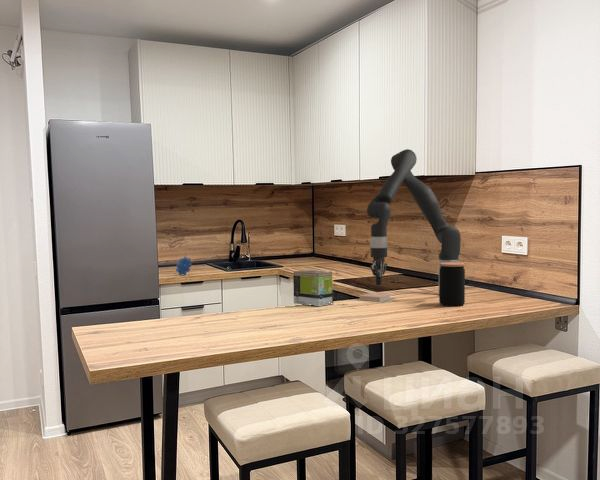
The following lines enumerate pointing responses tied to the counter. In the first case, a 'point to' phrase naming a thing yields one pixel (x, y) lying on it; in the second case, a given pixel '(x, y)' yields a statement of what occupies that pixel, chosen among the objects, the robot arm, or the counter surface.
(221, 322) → the counter surface
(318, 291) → the tea box
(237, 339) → the counter surface
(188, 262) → the grapes
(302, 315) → the counter surface
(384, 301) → the slate board
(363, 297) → the tile
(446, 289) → the coffee jar
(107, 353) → the counter surface
